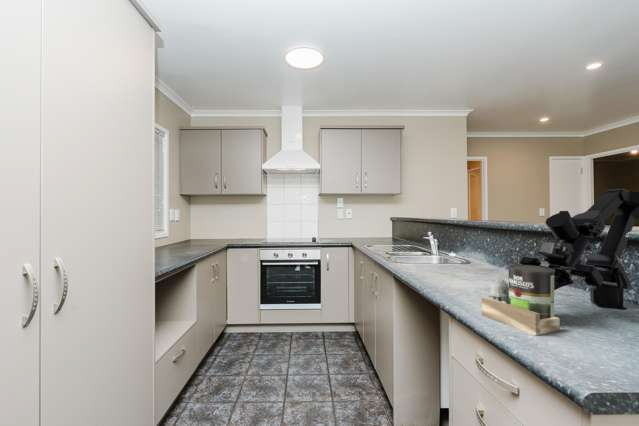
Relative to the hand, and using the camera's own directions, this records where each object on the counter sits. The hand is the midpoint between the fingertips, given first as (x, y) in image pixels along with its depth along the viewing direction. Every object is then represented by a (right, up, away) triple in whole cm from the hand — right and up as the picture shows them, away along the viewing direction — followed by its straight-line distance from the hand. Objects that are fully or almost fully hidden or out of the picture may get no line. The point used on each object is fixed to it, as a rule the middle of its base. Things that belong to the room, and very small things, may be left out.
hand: (543, 293), depth 82 cm
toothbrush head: (+1, -7, +22) cm, 23 cm away
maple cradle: (-9, -7, -3) cm, 12 cm away
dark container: (-5, -7, -2) cm, 9 cm away
